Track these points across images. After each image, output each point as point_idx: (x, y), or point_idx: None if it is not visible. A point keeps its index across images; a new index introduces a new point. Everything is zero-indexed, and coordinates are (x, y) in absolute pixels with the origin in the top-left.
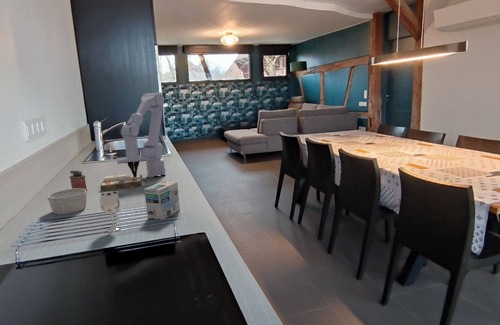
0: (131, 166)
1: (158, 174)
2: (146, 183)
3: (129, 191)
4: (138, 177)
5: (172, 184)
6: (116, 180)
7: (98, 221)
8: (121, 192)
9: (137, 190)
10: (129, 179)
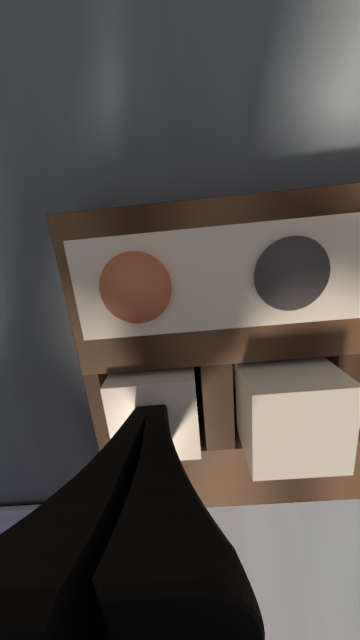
0: (154, 529)
1: (1, 530)
2: (59, 333)
3: (170, 38)
4: (111, 385)
5: None
6: None
7: None
8: (257, 25)
9: (85, 51)
10: (210, 377)
